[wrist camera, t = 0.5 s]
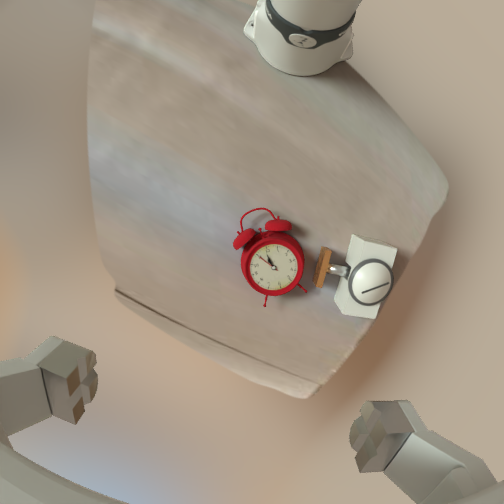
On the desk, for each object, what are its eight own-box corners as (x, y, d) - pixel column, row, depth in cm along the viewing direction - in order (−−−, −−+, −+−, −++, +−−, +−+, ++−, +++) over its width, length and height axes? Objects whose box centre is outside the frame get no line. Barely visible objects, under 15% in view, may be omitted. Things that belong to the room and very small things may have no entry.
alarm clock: (256, 313, 49) (219, 234, 42) (253, 292, 54) (220, 219, 48) (317, 292, 48) (290, 207, 41) (308, 273, 53) (282, 195, 47)
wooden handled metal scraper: (321, 246, 49) (325, 250, 46) (357, 254, 49) (363, 258, 46) (312, 280, 50) (315, 286, 47) (347, 287, 50) (353, 293, 47)
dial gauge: (348, 232, 49) (361, 240, 42) (386, 242, 49) (403, 251, 43) (329, 299, 52) (339, 315, 45) (367, 305, 52) (380, 321, 45)
